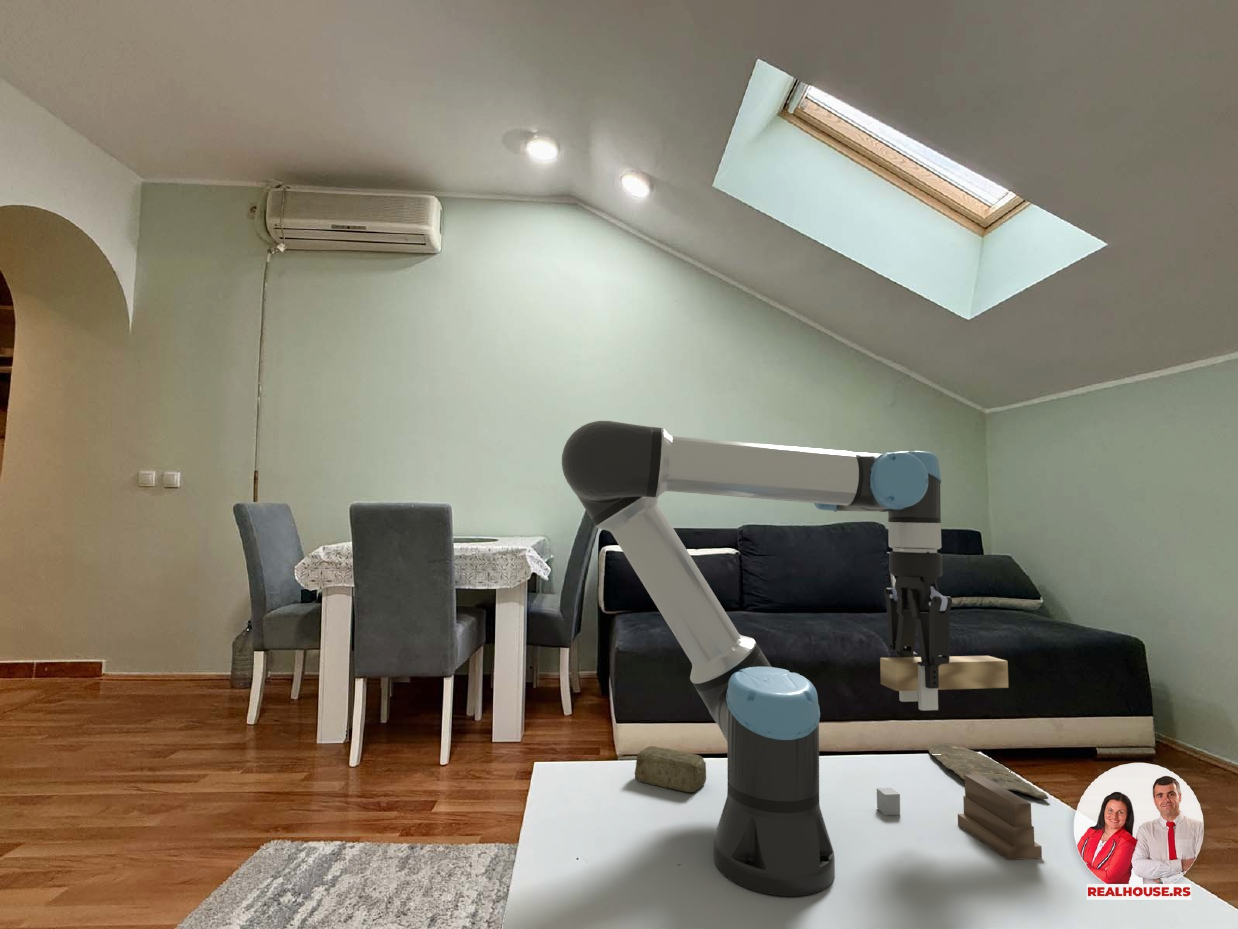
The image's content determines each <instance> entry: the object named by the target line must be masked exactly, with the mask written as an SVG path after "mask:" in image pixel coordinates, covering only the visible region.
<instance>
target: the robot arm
mask: <svg viewBox="0 0 1238 929" xmlns="http://www.w3.org/2000/svg"><path fill="white" fill-rule="evenodd" d="M561 470H562V473H563V476H564V478H565V480H566V482H567V483H568V485H569V487H570V488H571V490H572V491H573V492H574V494H575V495H576V496H577V498H578V500H579V501H580V503H581V504H582V506H583V508H584V509H585V511H586V512H587V514H588V516H589V518H590V520H591V521H592V522H593V524H594V525H595V527H596V528H597V529H599V530H605V531H607V532H610V533H611V535H612V536H613V538H614V540H615V541H616V542H617V544H618V546H619V547H620V550H621V551H622V552H623V554H624V556H625V557H626V559H627V561H628V562H629V564H630V566H631V567H632V569H633V570H634V572H635V573H636V575H637V577H638V578H639V580H640V582H641V583H642V584H643V587H644V588H645V590H646V591H647V593H648V594H649V596H650V598H651V599H652V602H654V604H655V606H656V608H657V609H658V611H659V612H660V614H661V616H662V618H663V619H664V621H665V622H666V624H667V626H668V627H669V629H670V630H671V631H672V633H673V635H674V637H675V639H676V641H677V642H678V643H679V645H680V646H681V648H682V651H683V652H684V653H685V655H686V656H687V658H688V659H689V661H690V662H691V666H692V667H691V671H690V676H689V679H690V681H691V683H692V684H693V687H694V688H695V690H696V691H697V693H698V695H699V696H700V698H701V699H702V701H703V703H704V704H705V706H706V709H707V710H708V712H709V714H710V716H711V717H712V719H713V720H714V722H715V723H716V724H717V726H718V727H719V729H720V731H721V733H722V735H723V737H724V738H725V740H726V745H727V746H726V747H727V777H726V778H727V790H726V791H727V795H726V799H725V803H724V805H723V809H722V812H721V814H720V818H719V821H718V824H717V827H716V830H715V834H714V837H713V862H714V864H715V866H716V867H717V869H718V870H719V871H720V872H721V873H722V875H724V876H725V877H726V878H728V880H731V881H732V882H734V883H736V884H737V885H738V886H742V887H744V888H746V889H749V890H751V891H754V892H758V893H763V894H766V895H772V896H780V897H781V896H782V897H799V896H808V895H812V894H816V893H818V892H821V891H823V890H825V889H827V888H828V887H829V886H830V885H831V884H832V883H833V881H834V879H835V876H836V873H835V872H836V869H835V868H836V866H835V865H836V863H835V862H836V860H835V857H836V856H835V852H834V848H833V844H832V842H831V839H830V836H829V833H828V829H827V826H826V823H825V819H824V817H823V814H822V810H821V806H820V718H821V712H820V711H821V710H820V704H819V699H818V692H817V689H816V687H815V686H814V684H813V683H812V682H811V681H810V680H809V679H807V678H806V677H805V676H803V675H800V673H797V672H790V670H788V669H784V668H780V667H774V666H772V665H771V664H770V662H769V661H768V659H767V657H766V656H765V654H764V653H763V651H762V650H761V648H760V646H759V645H758V643H757V642H756V640H755V639H754V638H753V637H750V636H745V635H742V634H740V633H739V632H738V630H737V628H736V627H735V624H734V623H733V621H732V620H731V619H730V617H729V615H728V614H727V612H726V611H725V609H724V608H723V606H722V605H721V602H720V601H719V600H718V598H717V596H716V595H715V593H714V592H713V590H712V588H711V587H710V584H709V583H708V582H707V580H706V579H705V577H704V575H703V574H702V572H701V570H700V569H699V568H698V565H697V564H696V563H695V561H694V559H693V558H692V556H691V555H690V552H688V550H687V548H686V546H685V545H684V543H683V542H682V540H681V538H680V536H678V534H677V532H676V530H675V529H674V527H673V526H672V524H671V523H670V521H669V519H668V518H667V516H666V514H665V512H664V511H663V510H662V508H661V507H660V505H659V502H658V498H659V497H661V495H662V494H663V493H665V492H672V493H673V492H675V493H686V494H698V495H711V496H723V497H724V496H725V497H737V498H747V499H761V500H772V501H773V500H774V501H787V502H798V503H811V504H813V505H814V507H816V509H818V510H820V511H833V512H835V513H837V512H880V513H881V512H882V513H883V512H886V513H887V517H888V519H887V520H888V522H887V523H888V526H887V527H888V547H889V548H891V549H892V551H890V552H889V553H888V562H889V563H888V565H889V568H888V571H889V574H890V575H892V576H894V577H895V576H896V578H895V583H894V586H893V587H885V588H884V589H883V593H884V598H885V602H886V620H887V626H886V627H887V643H888V644H887V645H888V649H889V651H893V652H894V653H895V656H896V658H898V657H918V653H916V652H915V651H914V650H915V645H916V644H915V642H916V633H917V639H918V646H919V654H920V657H921V661H922V662H917V663H918V690H912V691H898V693H899V694H898V696H899V698H898V700H899V701H900V702H904V703H906V702H918V710H920V711H939V690H938V687H939V679H938V678H939V666H940V665H942V664H948V663H949V661H950V656H951V655H950V612H951V610H952V609H951V608H952V606H953V605H952V604H953V598H952V597H951V596H945V595H942V593H940V592H939V590H940V589H939V587H938V583H937V580H938V579H937V578H941V577H942V576H943V555H941V553H940V552H938V550H940V549H941V548H942V527H941V526H942V525H941V522H942V520H941V515H942V514H941V512H942V511H941V510H942V509H941V508H942V507H941V506H942V505H941V504H942V503H941V484H942V479H941V471H940V470H941V469H940V463H939V457H938V456H937V454H936V453H933V452H931V451H924V450H923V451H922V450H921V451H920V450H914V451H913V450H912V451H909V450H906V451H887V452H884V453H871V452H860V451H859V452H856V451H850V450H849V451H848V450H838V449H827V448H826V449H825V448H813V447H801V446H792V445H791V446H790V445H779V444H778V445H777V444H768V443H756V442H755V443H754V442H744V441H735V440H734V441H732V440H720V439H711V438H710V439H709V438H698V437H697V438H696V437H685V436H675V435H671V434H669V433H668V431H667V430H666V429H665V428H664V427H658V426H657V427H655V426H646V425H639V424H634V423H633V424H632V423H625V422H619V421H612V420H594V421H592V422H588V423H586V424H583V425H581V426H580V427H578V428H577V429H576V430H575V431H574V432H572V434H570V436H569V438H568V439H567V440H566V443H565V445H564V447H563V450H562V454H561Z"/></svg>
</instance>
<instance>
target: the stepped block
mask: <svg viewBox="0 0 1238 929" xmlns="http://www.w3.org/2000/svg"><path fill="white" fill-rule="evenodd" d="M962 797H963V813H957V825H958V826H959V827H961V828H962V829H963V830H965V831H966V832H967V833H969V834H971V835H972V836H974V837H975V838H976V839H978V841H980V842H981V843H983V844H985V846H987V847H989V848H990V849H992V850H993V851H995V852H996V853H997V854H998V855H1001V857H1003V858H1004V859H1005V860H1007V861H1011V860H1012V861H1013V860H1031V859H1043V854H1042V853H1043V851H1042V845H1040V844H1039V843H1038V842H1036V841H1035V827H1034V825H1032V824H1033V822H1032V803H1031V802H1029V801H1027V800H1025V798H1024V799H1023V798H1022V797H1020V796H1019V795H1017V794H1015V793H1014V792H1011V790H1006V789H1004V788H1003V787H1001V786H999V785H997V784H996V783H994V782H992V781H990V780H989V779H987V778H985V777H983V776H981V775H980V774H974V775H965V780H964V795H963V796H962Z"/></svg>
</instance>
